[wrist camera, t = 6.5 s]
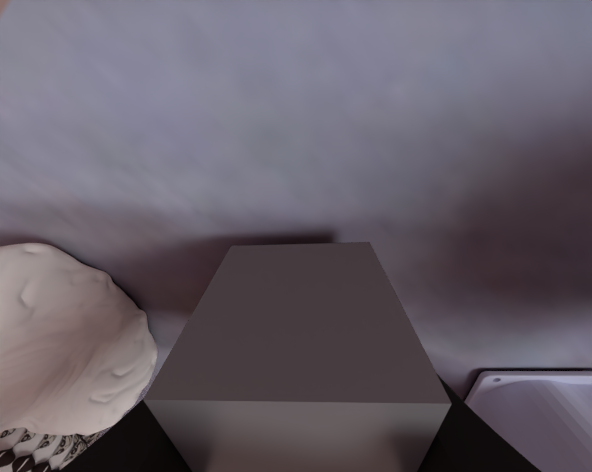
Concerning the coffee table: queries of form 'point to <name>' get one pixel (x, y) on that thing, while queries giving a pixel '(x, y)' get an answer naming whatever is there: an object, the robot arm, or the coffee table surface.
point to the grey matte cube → (299, 368)
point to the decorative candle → (39, 450)
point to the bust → (67, 344)
